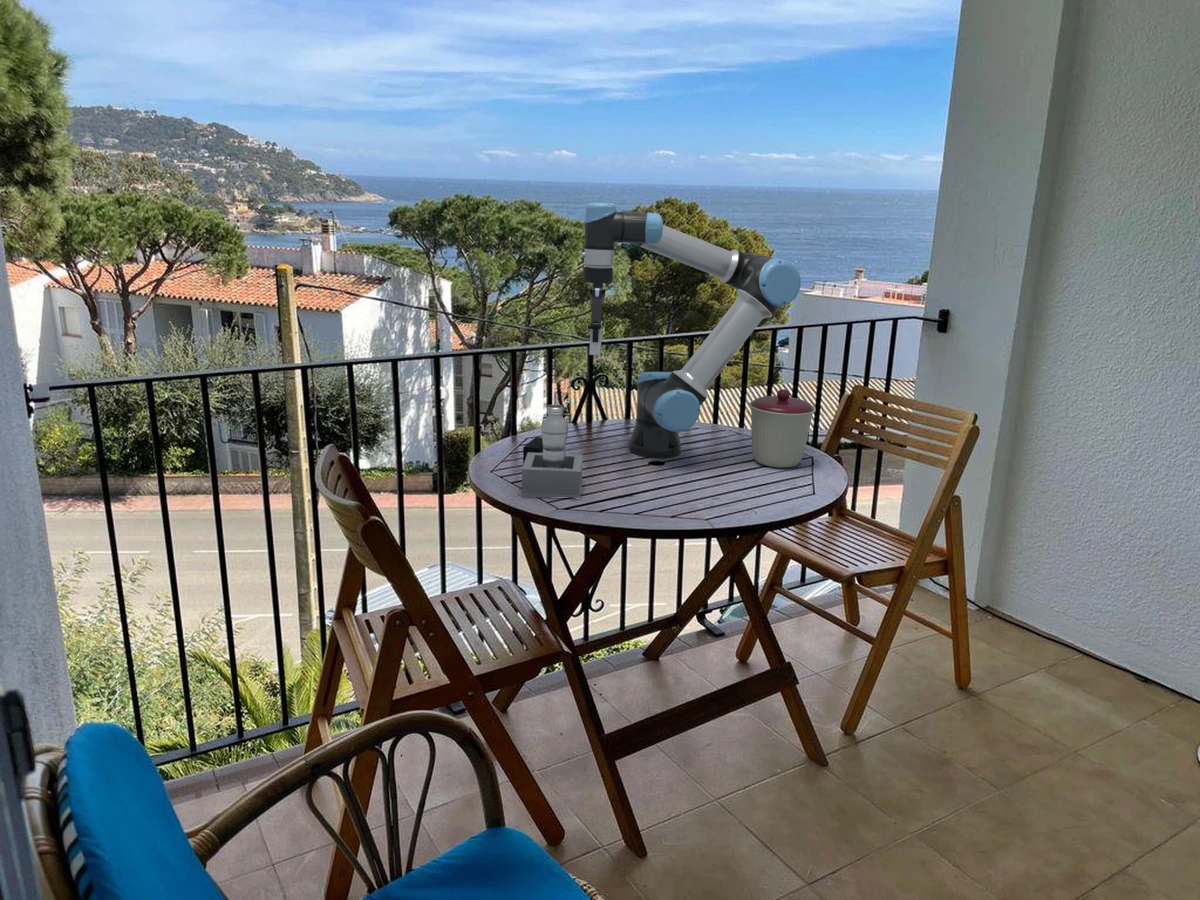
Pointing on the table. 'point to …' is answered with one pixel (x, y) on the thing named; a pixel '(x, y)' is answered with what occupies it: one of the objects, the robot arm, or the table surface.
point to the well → (552, 477)
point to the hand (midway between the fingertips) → (595, 350)
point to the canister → (780, 429)
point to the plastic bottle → (554, 438)
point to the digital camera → (533, 447)
